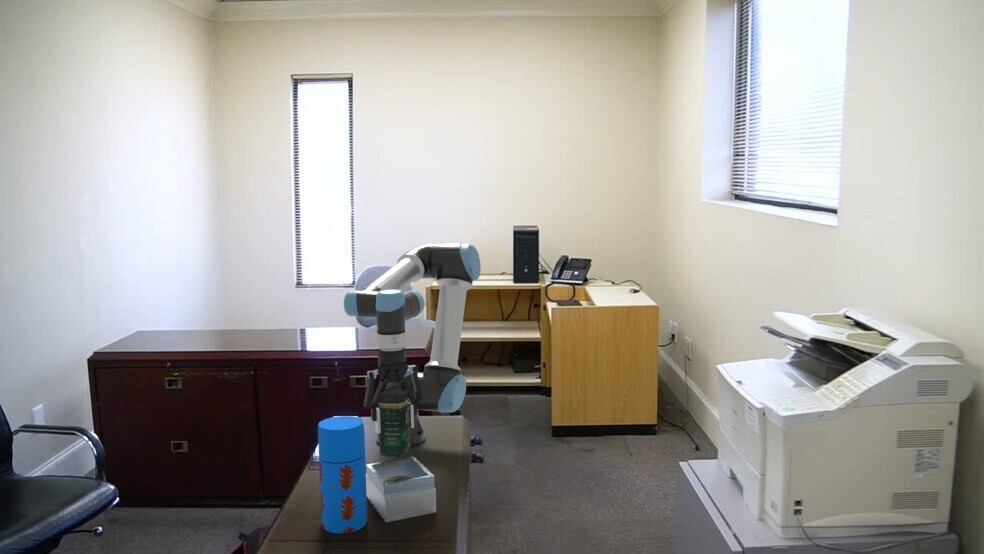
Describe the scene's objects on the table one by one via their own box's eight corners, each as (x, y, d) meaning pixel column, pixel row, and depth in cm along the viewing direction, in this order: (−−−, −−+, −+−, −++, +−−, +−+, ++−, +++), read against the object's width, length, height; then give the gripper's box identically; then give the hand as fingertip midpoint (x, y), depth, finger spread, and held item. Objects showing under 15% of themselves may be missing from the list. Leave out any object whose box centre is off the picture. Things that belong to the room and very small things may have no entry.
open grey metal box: (413, 487, 204) (412, 455, 203) (436, 512, 189) (435, 477, 188) (366, 496, 199) (365, 463, 198) (385, 522, 184) (384, 486, 183)
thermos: (326, 537, 176) (322, 432, 173) (317, 518, 186) (313, 419, 183) (372, 528, 181) (369, 426, 177) (361, 510, 190) (358, 413, 187)
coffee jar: (406, 458, 203) (404, 391, 201) (377, 458, 204) (374, 391, 201) (413, 445, 213) (411, 381, 210) (385, 445, 214) (383, 380, 211)
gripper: (356, 355, 197) (359, 439, 200) (434, 346, 205) (436, 427, 209) (348, 349, 203) (352, 431, 206) (424, 340, 212) (427, 419, 215)
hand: (394, 429), depth 208 cm, fingers closed on coffee jar, 9 cm apart
